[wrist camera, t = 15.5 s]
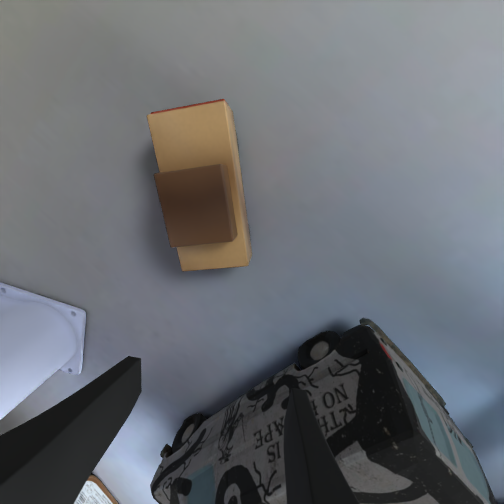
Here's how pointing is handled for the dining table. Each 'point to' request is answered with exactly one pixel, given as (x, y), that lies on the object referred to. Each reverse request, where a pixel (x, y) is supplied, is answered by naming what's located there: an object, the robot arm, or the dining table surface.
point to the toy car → (330, 433)
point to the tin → (94, 493)
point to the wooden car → (201, 185)
